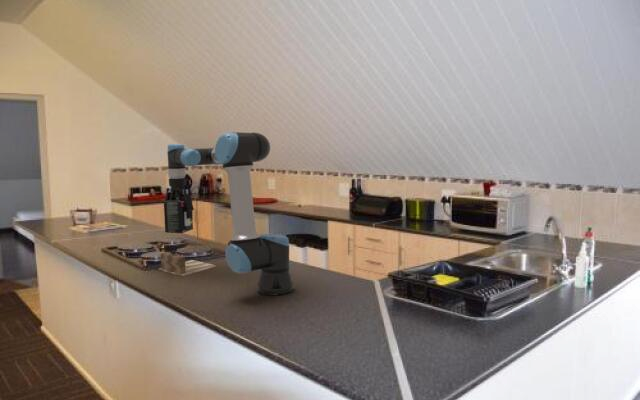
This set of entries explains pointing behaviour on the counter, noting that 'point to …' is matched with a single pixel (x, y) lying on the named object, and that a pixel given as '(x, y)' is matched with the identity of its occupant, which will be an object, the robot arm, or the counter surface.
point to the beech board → (194, 267)
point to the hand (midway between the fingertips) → (179, 224)
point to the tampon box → (176, 217)
